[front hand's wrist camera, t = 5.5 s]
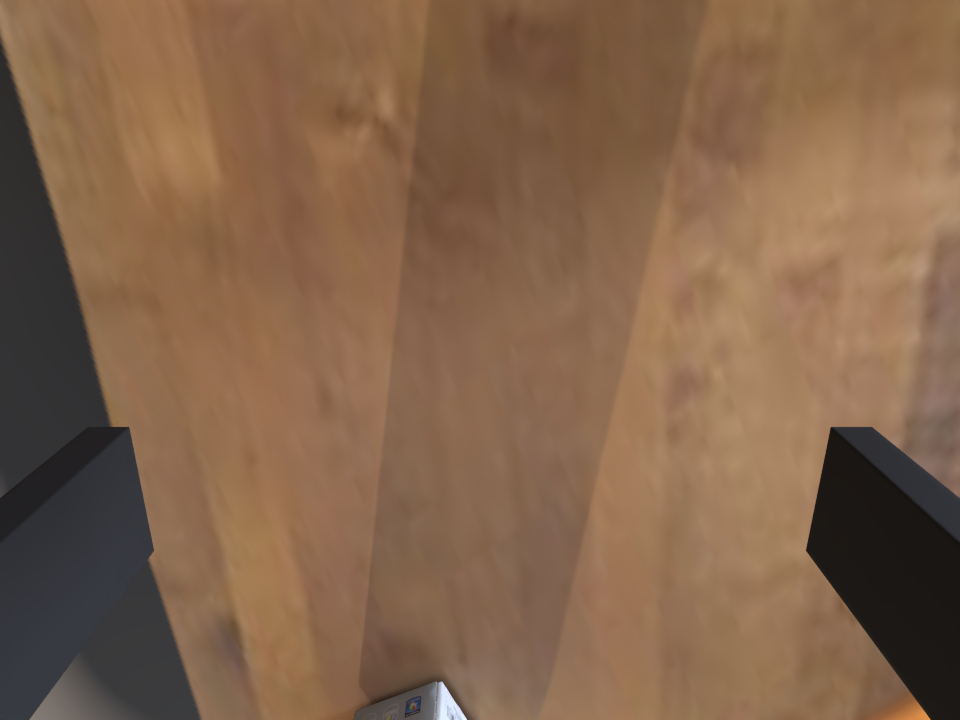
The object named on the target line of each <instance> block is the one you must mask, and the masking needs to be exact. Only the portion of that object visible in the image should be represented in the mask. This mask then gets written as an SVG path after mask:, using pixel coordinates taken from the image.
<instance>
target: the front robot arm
mask: <svg viewBox="0 0 960 720" xmlns="http://www.w3.org/2000/svg"><path fill="white" fill-rule="evenodd" d="M153 551H154V548H153V543H152V538H151V534H150V529H149V524H148V519H147V514H146V509H145V504H144V499H143V494H142V489H141V484H140V479H139V474H138V469H137V464H136V459H135V454H134V449H133V444H132V439H131V434H130V429H129V427H88V428H86V429H85V430H84V431H83V432H81V433H80V434H79V435H78V436H77V437H75V438H74V439H73V440H72V441H70V442H69V443H68V444H67V445H65V446H64V447H63V448H62V449H60V450H59V451H58V452H57V453H56V454H54V455H53V456H52V457H51V458H49V459H48V460H47V461H46V462H44V463H43V464H42V465H41V466H40V467H38V468H37V469H36V470H35V471H33V472H32V473H31V474H30V475H28V476H27V477H26V478H25V479H23V480H22V481H21V482H20V483H19V484H17V485H16V486H15V487H14V488H12V489H11V490H10V491H9V492H7V493H6V494H5V495H4V496H2V497H1V498H0V720H29V719H30V718H31V716H32V715H33V714H34V712H35V711H36V710H37V708H38V707H39V706H40V704H41V703H42V701H43V700H44V699H45V697H46V696H47V695H48V693H49V692H50V691H51V689H52V688H53V687H54V685H55V684H56V683H57V681H58V680H59V679H60V677H61V676H62V674H63V673H64V672H65V670H66V669H67V668H68V666H69V665H70V664H71V662H72V661H73V660H74V658H75V657H76V656H77V654H78V653H79V651H80V650H81V649H82V647H83V646H84V645H85V643H86V642H87V641H88V639H89V638H90V637H91V635H92V634H93V632H94V631H95V630H96V628H97V627H98V626H99V624H100V623H101V622H102V620H103V619H104V618H105V616H106V615H107V614H108V612H109V611H110V610H111V608H112V607H113V605H114V604H115V603H116V601H117V600H118V599H119V597H120V596H121V595H122V593H123V592H124V591H125V589H126V588H127V587H128V585H129V584H130V582H131V581H132V580H133V578H134V577H135V576H136V574H137V573H138V572H139V570H140V569H141V568H142V566H143V565H144V563H145V562H146V561H147V559H148V558H149V557H150V555H151V554H152V553H153ZM806 551H807V553H808V554H809V555H810V557H811V558H812V559H813V561H814V562H815V564H816V565H817V566H818V568H819V569H820V570H821V572H822V573H823V574H824V576H825V577H826V578H827V580H828V581H829V582H830V584H831V585H832V587H833V588H834V589H835V591H836V592H837V593H838V595H839V596H840V597H841V599H842V600H843V601H844V603H845V604H846V605H847V607H848V608H849V610H850V611H851V612H852V614H853V615H854V616H855V618H856V619H857V620H858V622H859V623H860V624H861V626H862V627H863V628H864V630H865V631H866V633H867V634H868V635H869V637H870V638H871V639H872V641H873V642H874V643H875V645H876V646H877V647H878V649H879V650H880V651H881V653H882V654H883V656H884V657H885V658H886V660H887V661H888V662H889V664H890V665H891V666H892V668H893V669H894V670H895V672H896V673H897V674H898V676H899V677H900V679H901V680H902V681H903V683H904V684H905V685H906V687H907V688H908V689H909V691H910V692H911V693H912V695H913V696H914V697H915V699H916V700H917V702H918V703H919V704H920V706H921V707H922V708H923V710H924V711H925V712H926V714H927V715H928V716H929V718H930V719H931V720H960V498H959V497H958V496H956V495H955V494H954V493H953V492H951V491H950V490H949V489H948V488H946V487H945V486H944V485H943V484H941V483H940V482H939V481H938V480H937V479H935V478H934V477H933V476H932V475H930V474H929V473H928V472H927V471H925V470H924V469H923V468H922V467H921V466H919V465H918V464H917V463H916V462H914V461H913V460H912V459H911V458H909V457H908V456H907V455H906V454H904V453H903V452H902V451H901V450H900V449H898V448H897V447H896V446H895V445H893V444H892V443H891V442H890V441H888V440H887V439H886V438H885V437H883V436H882V435H881V434H880V433H879V432H877V431H876V430H875V429H874V428H872V427H831V429H830V434H829V439H828V444H827V449H826V454H825V459H824V464H823V469H822V474H821V479H820V484H819V489H818V494H817V499H816V504H815V509H814V514H813V519H812V524H811V529H810V534H809V538H808V543H807V548H806Z"/></svg>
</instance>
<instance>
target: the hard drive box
mask: <svg viewBox="0 0 960 720" xmlns="http://www.w3.org/2000/svg"><path fill="white" fill-rule="evenodd" d="M353 720H467V719H466V717H465V716H464V714H463V713H462V711H461V709H460V708H459V706H458V705H457V704H456V702H455V701H454V699H453V698H452V696H451V695H450V693H449V691H448V690H447V688H446V687H445V685H444V684H443V682H439V683H438V682H436V681H435V682H432V683H430V684H427V685H424V686H421V687H419V688H416V689H413V690H411V691H408V692H405V693H402V694H400V695H397V696H394V697H392V698H389V699H386V700H384V701H381V702H378V703H375V704H373V705H370V706H367V707H365V708H362V709H359V710H357V711H355V713H354V719H353Z"/></svg>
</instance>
